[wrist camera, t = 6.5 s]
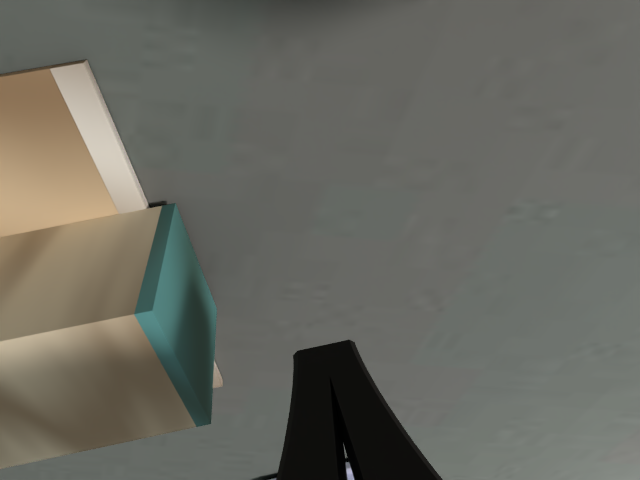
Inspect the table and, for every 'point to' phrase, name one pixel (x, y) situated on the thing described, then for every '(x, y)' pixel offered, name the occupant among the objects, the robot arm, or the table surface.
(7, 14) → the table surface
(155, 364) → the beech block
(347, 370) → the robot arm
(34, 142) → the tan flat rectangular panel
